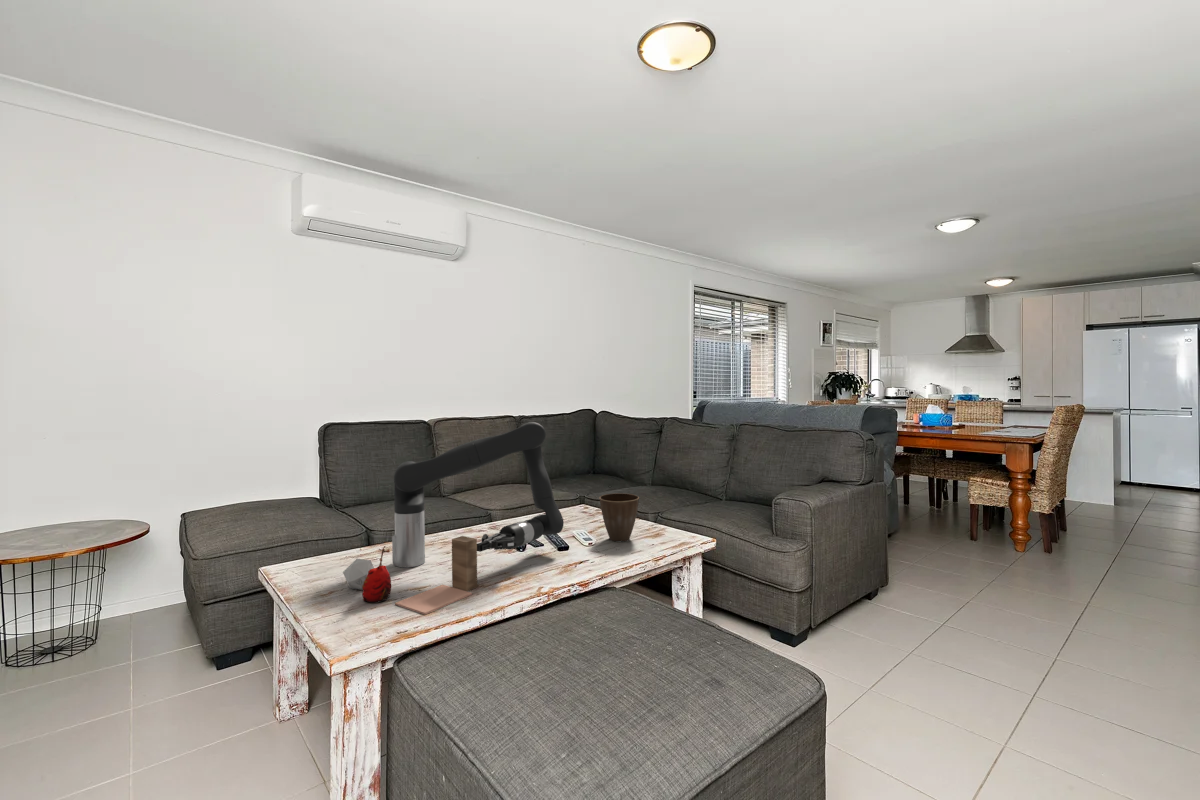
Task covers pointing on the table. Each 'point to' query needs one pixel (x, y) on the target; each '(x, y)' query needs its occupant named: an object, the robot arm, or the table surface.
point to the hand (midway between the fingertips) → (477, 548)
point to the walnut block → (464, 563)
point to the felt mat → (433, 599)
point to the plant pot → (619, 514)
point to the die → (357, 573)
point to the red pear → (377, 583)
